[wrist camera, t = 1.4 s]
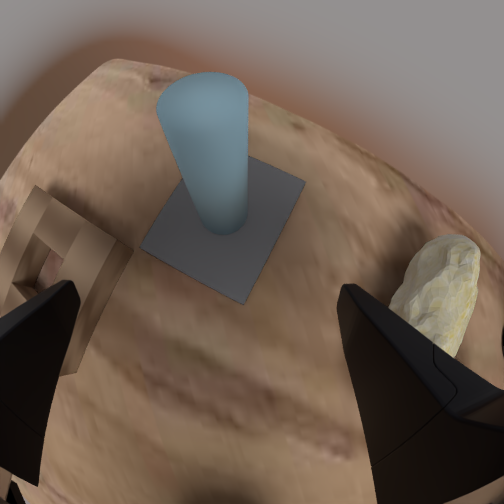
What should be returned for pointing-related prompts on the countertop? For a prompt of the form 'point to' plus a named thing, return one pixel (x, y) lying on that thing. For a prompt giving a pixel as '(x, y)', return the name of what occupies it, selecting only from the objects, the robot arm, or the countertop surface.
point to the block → (73, 267)
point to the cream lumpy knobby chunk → (440, 290)
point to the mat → (231, 245)
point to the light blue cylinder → (210, 145)
